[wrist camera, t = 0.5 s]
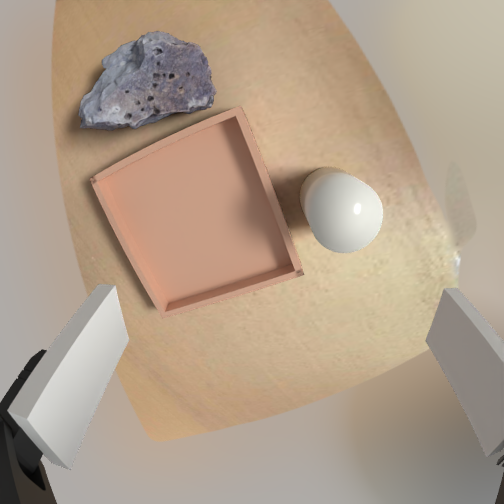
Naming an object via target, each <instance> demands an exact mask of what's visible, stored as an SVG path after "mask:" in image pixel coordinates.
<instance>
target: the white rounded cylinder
mask: <svg viewBox="0 0 504 504" xmlns="http://www.w3.org/2000/svg"><path fill="white" fill-rule="evenodd" d="M300 204H301V207H302V210H303V212H304V214H305V216H306V219H307V221H308V223H309V225H310V227H311V230H312V232H313V234H314V236H315V238H316V239H317V240H318V242H319V243H320V244H321V245H323V246H324V247H325V248H327V249H329V250H331V251H334V252H338V253H351V252H355V251H358V250H360V249H362V248H364V247H365V246H367V245H368V244H369V243H370V242H371V241H372V240H373V239H374V238H375V237H376V235H377V234H378V232H379V230H380V227H381V224H382V220H383V209H382V204H381V201H380V199H379V197H378V195H377V194H376V192H375V191H374V190H373V189H372V188H371V187H370V186H368V185H367V184H365V183H363V182H362V181H360V180H359V179H357V178H355V177H354V176H352V175H351V174H349V173H347V172H346V171H344V170H342V169H340V168H336V167H323V168H320V169H317V170H315V171H314V172H312V173H311V174H310V175H309V176H308V177H307V178H306V179H305V181H304V182H303V184H302V187H301V190H300Z"/></svg>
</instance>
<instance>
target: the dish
mask: <svg viewBox="0 0 504 504" xmlns="http://www.w3.org/2000/svg"><path fill="white" fill-rule="evenodd" d="M90 181H91V184H92V186H93V188H94V190H95V193H96V195H97V197H98V199H99V201H100V203H101V206H102V208H103V210H104V212H105V214H106V216H107V218H108V220H109V222H110V224H111V226H112V228H113V230H114V232H115V234H116V236H117V238H118V240H119V242H120V244H121V246H122V248H123V250H124V252H125V253H126V255H127V257H128V259H129V261H130V263H131V265H132V266H133V268H134V270H135V272H136V274H137V275H138V277H139V279H140V281H141V283H142V284H143V286H144V288H145V290H146V291H147V293H148V295H149V296H150V298H151V300H152V302H153V303H154V305H155V307H156V308H157V310H158V312H159V313H160V315H161V317H162V318H166V317H170V316H173V315H176V314H180V313H183V312H187V311H190V310H194V309H197V308H200V307H204V306H207V305H210V304H214V303H217V302H220V301H223V300H227V299H230V298H233V297H236V296H240V295H243V294H246V293H249V292H252V291H256V290H259V289H262V288H265V287H268V286H271V285H274V284H278V283H281V282H284V281H287V280H290V279H293V278H296V277H299V276H302V275H304V273H303V269H302V265H301V262H300V259H299V256H298V253H297V251H296V248H295V245H294V242H293V239H292V236H291V234H290V231H289V228H288V225H287V222H286V220H285V217H284V214H283V211H282V209H281V206H280V203H279V201H278V198H277V195H276V193H275V190H274V187H273V185H272V182H271V179H270V177H269V174H268V171H267V169H266V166H265V164H264V161H263V158H262V156H261V153H260V151H259V148H258V146H257V143H256V141H255V138H254V136H253V133H252V130H251V128H250V125H249V123H248V121H247V118H246V116H245V113H244V111H243V108H242V107H241V106H238V107H236V108H233V109H231V110H228V111H225V112H223V113H220V114H218V115H216V116H213V117H211V118H208V119H206V120H204V121H201V122H199V123H197V124H194V125H192V126H190V127H188V128H185V129H183V130H181V131H179V132H177V133H174V134H172V135H170V136H168V137H166V138H164V139H162V140H160V141H158V142H156V143H154V144H152V145H150V146H148V147H146V148H144V149H142V150H140V151H138V152H136V153H134V154H132V155H130V156H128V157H127V158H125V159H123V160H121V161H119V162H117V163H116V164H114V165H112V166H110V167H109V168H107V169H105V170H103V171H102V172H100V173H98V174H96V175H95V176H93V177H91V178H90Z"/></svg>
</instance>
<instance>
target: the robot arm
mask: <svg viewBox="0 0 504 504" xmlns="http://www.w3.org/2000/svg"><path fill="white" fill-rule="evenodd" d="M128 341H129V338H128V334H127V331H126V327H125V323H124V320H123V316H122V312H121V308H120V304H119V300H118V295H117V291H116V287H115V285H106V284H98V285H97V287H96V288H95V289H94V290H93V292H92V293H91V294H90V295H89V296H88V298H87V299H86V300H85V301H84V303H83V304H82V305H81V307H80V308H79V309H78V310H77V312H76V313H75V314H74V315H73V317H72V318H71V319H70V321H69V322H68V323H67V325H66V326H65V327H64V328H63V330H62V331H61V332H60V334H59V335H58V336H57V338H56V339H55V341H54V342H53V343H52V345H51V346H50V347H49V349H48V350H41V351H39V352H38V353H37V354H35V355H34V356H33V357H32V358H31V359H30V360H29V362H28V363H27V364H26V366H25V367H24V370H22V371H21V373H20V374H19V376H18V379H16V380H15V381H14V383H13V384H12V386H11V387H10V389H9V391H8V392H7V393H6V395H5V396H4V398H3V399H2V401H1V403H0V504H57V503H56V500H55V497H54V494H53V492H52V489H51V486H50V484H49V481H48V478H47V474H46V471H45V468H44V466H43V464H42V462H41V460H40V459H41V457H42V455H43V454H44V455H45V457H46V458H47V459H48V460H49V461H50V462H51V463H53V464H56V465H58V466H61V467H63V468H66V469H69V470H71V467H72V465H73V462H74V460H75V457H76V455H77V452H78V450H79V448H80V445H81V443H82V440H83V438H84V436H85V433H86V431H87V429H88V426H89V424H90V422H91V419H92V417H93V415H94V413H95V410H96V408H97V406H98V404H99V401H100V399H101V397H102V395H103V393H104V391H105V389H106V386H107V384H108V382H109V380H110V378H111V376H112V374H113V372H114V370H115V368H116V365H117V363H118V361H119V359H120V357H121V355H122V353H123V351H124V349H125V347H126V345H127V343H128ZM425 341H426V342H427V344H428V346H429V347H430V349H431V351H432V352H433V354H434V356H435V357H436V359H437V361H438V363H439V364H440V366H441V368H442V370H443V372H444V373H445V375H446V377H447V379H448V381H449V382H450V384H451V386H452V388H453V390H454V392H455V393H456V395H457V397H458V399H459V401H460V403H461V405H462V407H463V409H464V411H465V413H466V415H467V417H468V419H469V421H470V423H471V425H472V427H473V429H474V431H475V433H476V435H477V438H478V440H479V442H480V444H481V446H482V449H483V451H484V453H485V455H486V457H489V456H491V455H493V454H495V453H497V452H499V451H501V450H502V449H503V448H504V341H503V340H502V339H501V338H500V336H499V335H498V334H497V333H496V331H495V330H494V329H493V328H492V327H491V325H490V324H489V323H488V322H487V321H486V319H485V318H484V317H483V316H482V315H481V314H480V313H479V311H478V310H477V309H476V308H475V307H474V306H473V305H472V303H471V302H470V301H469V300H468V299H467V298H466V297H465V296H464V295H463V293H462V292H461V291H460V290H459V289H458V288H445V289H444V290H443V293H442V296H441V299H440V302H439V305H438V308H437V311H436V314H435V317H434V319H433V322H432V325H431V328H430V330H429V333H428V335H427V338H426V340H425ZM503 460H504V455H503V456H502V457H501V458H500V459H499V460H498V462H497V465H499V464H500V463H501V462H502V461H503ZM502 466H503V467H504V463H503V465H502ZM495 504H504V473H503V477H502V481H501V485H500V488H499V492H498V495H497V499H496V502H495Z"/></svg>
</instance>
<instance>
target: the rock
mask: <svg viewBox="0 0 504 504" xmlns="http://www.w3.org/2000/svg"><path fill="white" fill-rule="evenodd" d="M102 65H103V68H106V70H105V71H104V72H103V73H102V75H101V76H100V78H99V79H98V81H97V82H96V83H95V86H94V87H93V89H92V91H91V92H90V93H88V94H86V95H84V96H83V99H82V101H81V105H80V109H79V114H78V115H79V116H80V118H82V120H81V125H80V128H95V129H105V130H110V131H111V130H114V129H116V128H124V127H127V126H130V127H131V128H133V129H136V128H138V127H140V126H143V125H146V124H149V123H154V122H157V121H158V120H160V119H162V118H165V117H168V116H169V115H171V114H173V113H177V112H185V113H187V114H191V113H192V112H194V111H196V110H206V109H207V108H211V106H212V105H213V101H214V97H213V95H215V94H216V92H217V91H216V89H215V87H214V86H213V84H212V81H211V68H210V66H209V65H208V60H207V58H206V57H205V56H204V53H203V52H202V50H201V48H200V46H199V45H197V44H195V43H192V42H188V43H186V42H184V41H180V40H178V39H177V38H175V37H173V36H171V35H170V34H169V33H165V32H160V31H155V32H148V33H147V34H146V35H142V36H141V37H140V38H139V39H138V40H137V41H132V42H129V43H126V44H124V45H121V46H120V47H119V48H118V49H117V50H116V51H115V52H113V53H112V54H110V55H108V56H106V57H105V58H104V59H102Z"/></svg>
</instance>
